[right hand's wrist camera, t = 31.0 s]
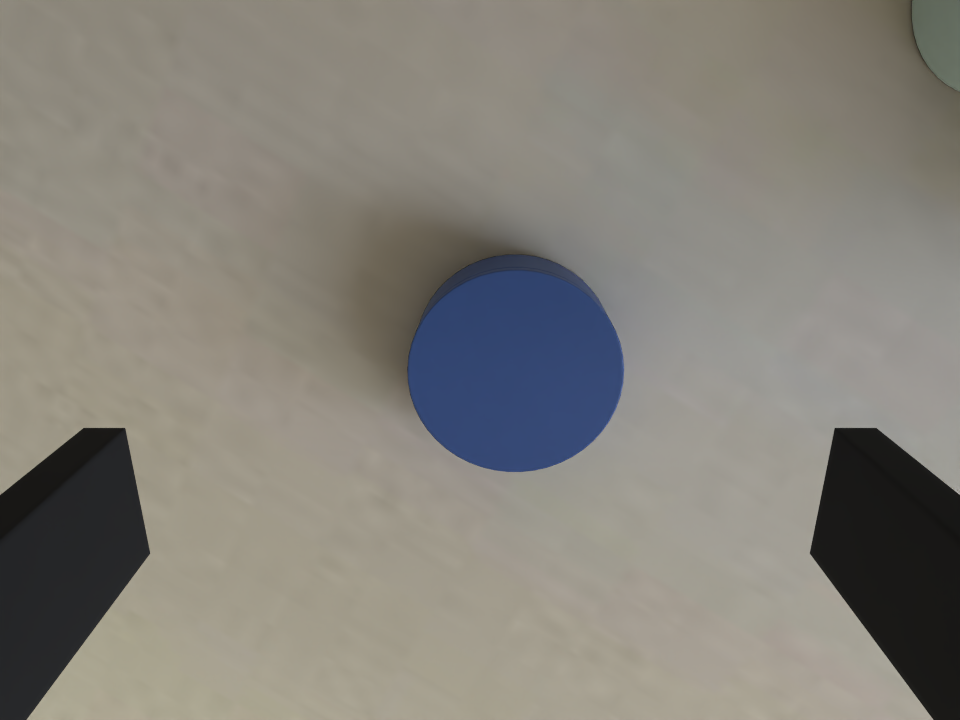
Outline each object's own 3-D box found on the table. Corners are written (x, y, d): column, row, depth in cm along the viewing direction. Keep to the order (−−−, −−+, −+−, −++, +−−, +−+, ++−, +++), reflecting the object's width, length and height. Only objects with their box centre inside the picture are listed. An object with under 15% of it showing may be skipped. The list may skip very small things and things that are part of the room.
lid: (504, 473, 23) (504, 509, 21) (376, 342, 22) (362, 366, 20) (651, 360, 22) (668, 386, 20) (524, 210, 20) (527, 222, 18)
